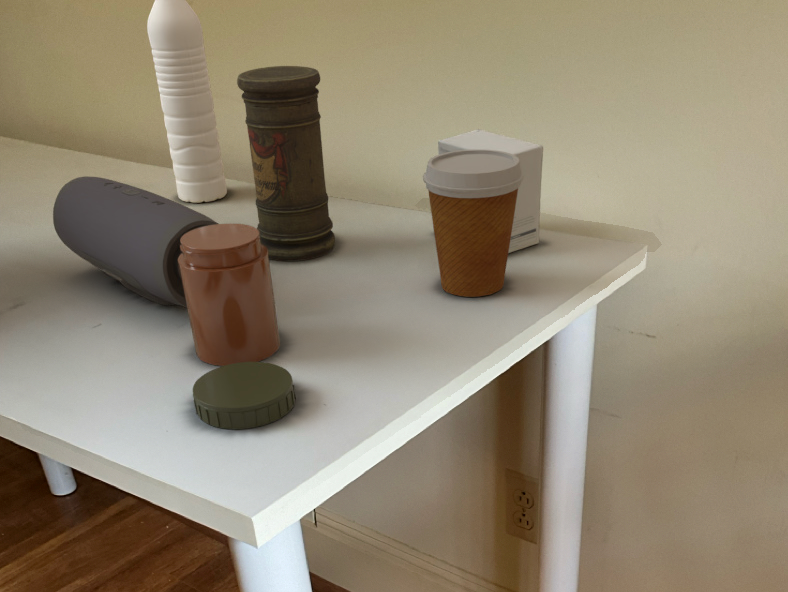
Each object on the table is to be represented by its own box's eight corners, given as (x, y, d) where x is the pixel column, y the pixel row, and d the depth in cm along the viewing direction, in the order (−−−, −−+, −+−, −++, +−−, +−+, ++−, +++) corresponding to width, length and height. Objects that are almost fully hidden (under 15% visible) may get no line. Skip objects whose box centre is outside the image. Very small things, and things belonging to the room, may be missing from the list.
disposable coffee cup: (495, 310, 85) (498, 179, 77) (408, 294, 89) (404, 169, 81) (534, 276, 91) (540, 153, 84) (451, 263, 95) (450, 144, 88)
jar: (181, 362, 78) (157, 249, 72) (217, 327, 84) (198, 219, 78) (261, 369, 76) (243, 253, 70) (292, 333, 82) (278, 223, 76)
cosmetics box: (437, 234, 103) (435, 138, 96) (479, 222, 106) (480, 127, 99) (497, 257, 96) (500, 155, 89) (541, 243, 99) (546, 143, 92)
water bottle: (178, 205, 116) (136, -20, 101) (178, 191, 121) (138, -24, 106) (245, 199, 117) (213, -24, 102) (242, 185, 122) (211, -29, 107)
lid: (309, 386, 74) (307, 365, 72) (273, 434, 67) (269, 412, 66) (222, 378, 75) (218, 357, 74) (178, 423, 69) (173, 402, 68)
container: (310, 229, 106) (293, 61, 95) (351, 248, 100) (338, 71, 89) (243, 247, 102) (217, 73, 91) (282, 267, 96) (259, 84, 85)
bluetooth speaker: (252, 305, 88) (237, 202, 82) (171, 334, 83) (148, 227, 77) (138, 253, 101) (118, 161, 95) (62, 276, 97) (36, 180, 91)
